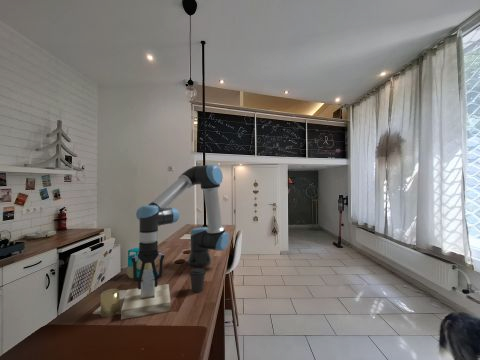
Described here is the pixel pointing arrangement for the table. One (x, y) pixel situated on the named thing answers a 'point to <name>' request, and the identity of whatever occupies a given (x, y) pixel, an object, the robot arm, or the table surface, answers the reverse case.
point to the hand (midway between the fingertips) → (147, 295)
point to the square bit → (147, 284)
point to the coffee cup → (197, 279)
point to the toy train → (139, 264)
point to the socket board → (145, 302)
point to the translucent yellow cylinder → (109, 302)
